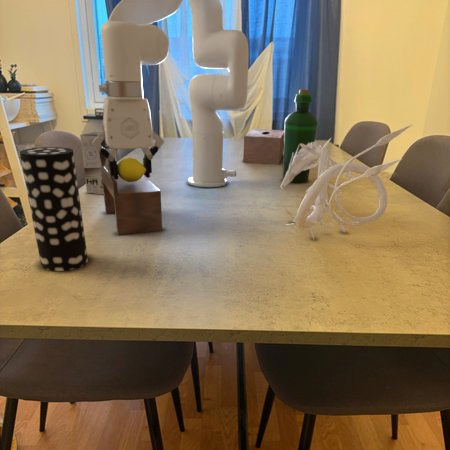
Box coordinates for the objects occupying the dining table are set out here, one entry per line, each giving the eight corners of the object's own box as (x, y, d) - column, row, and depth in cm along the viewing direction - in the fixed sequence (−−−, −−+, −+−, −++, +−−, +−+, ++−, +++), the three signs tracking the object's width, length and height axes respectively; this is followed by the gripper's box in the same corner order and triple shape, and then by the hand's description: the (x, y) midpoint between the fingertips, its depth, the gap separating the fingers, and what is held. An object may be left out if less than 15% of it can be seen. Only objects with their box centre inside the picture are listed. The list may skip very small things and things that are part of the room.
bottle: (313, 179, 150) (323, 89, 137) (308, 185, 141) (319, 90, 128) (283, 176, 153) (290, 88, 140) (276, 182, 144) (283, 89, 131)
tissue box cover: (251, 152, 198) (253, 128, 193) (283, 153, 195) (285, 130, 191) (243, 162, 175) (244, 136, 171) (278, 164, 173) (280, 137, 168)
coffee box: (106, 194, 125) (100, 135, 117) (86, 193, 126) (78, 134, 118) (119, 187, 133) (114, 131, 125) (100, 186, 134) (94, 130, 126)
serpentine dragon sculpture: (412, 272, 77) (463, 117, 70) (299, 251, 75) (340, 88, 67) (334, 233, 120) (361, 134, 112) (261, 219, 117) (283, 117, 110)
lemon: (113, 184, 97) (111, 159, 95) (119, 178, 102) (117, 155, 100) (144, 184, 97) (143, 160, 95) (148, 179, 102) (147, 155, 100)
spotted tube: (48, 254, 84) (28, 146, 75) (91, 253, 85) (77, 147, 76) (35, 271, 77) (12, 155, 68) (83, 270, 78) (66, 155, 68)
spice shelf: (144, 209, 113) (141, 164, 108) (162, 230, 98) (160, 179, 93) (105, 212, 110) (100, 166, 104) (118, 235, 95) (113, 182, 90)
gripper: (84, 91, 85) (95, 183, 93) (169, 92, 91) (172, 178, 99) (80, 90, 91) (90, 176, 99) (160, 90, 97) (163, 172, 105)
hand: (131, 176), depth 99 cm, fingers closed on lemon, 6 cm apart
